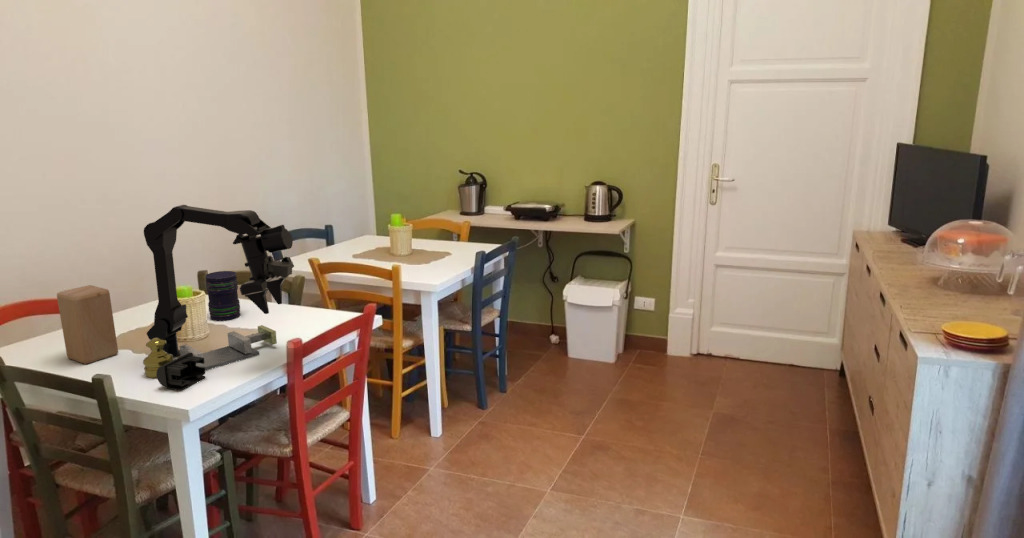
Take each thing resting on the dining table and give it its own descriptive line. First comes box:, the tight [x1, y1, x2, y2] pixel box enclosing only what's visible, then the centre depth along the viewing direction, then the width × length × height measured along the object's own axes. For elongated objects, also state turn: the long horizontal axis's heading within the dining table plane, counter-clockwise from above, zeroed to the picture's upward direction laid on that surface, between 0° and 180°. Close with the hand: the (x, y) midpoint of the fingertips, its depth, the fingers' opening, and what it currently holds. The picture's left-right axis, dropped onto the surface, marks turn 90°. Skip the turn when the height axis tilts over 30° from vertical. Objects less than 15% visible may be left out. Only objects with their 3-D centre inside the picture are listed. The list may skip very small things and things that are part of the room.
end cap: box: [156, 353, 207, 392], centre depth 181 cm, size 10×7×7 cm
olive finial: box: [142, 338, 175, 379], centre depth 186 cm, size 7×7×10 cm
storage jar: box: [205, 270, 241, 322], centre depth 233 cm, size 10×10×15 cm
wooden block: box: [56, 284, 119, 365], centre depth 197 cm, size 10×10×20 cm
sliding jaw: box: [226, 324, 278, 354], centre depth 204 cm, size 10×10×4 cm
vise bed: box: [178, 344, 260, 371], centre depth 197 cm, size 11×18×5 cm, turn 138°
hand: (273, 308), depth 194 cm, fingers open, 9 cm apart
